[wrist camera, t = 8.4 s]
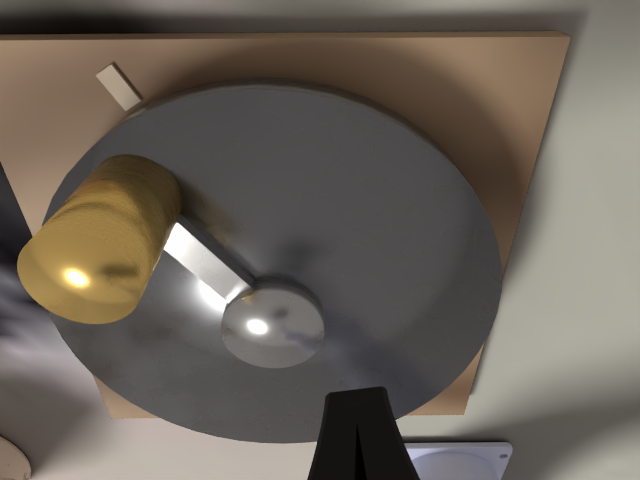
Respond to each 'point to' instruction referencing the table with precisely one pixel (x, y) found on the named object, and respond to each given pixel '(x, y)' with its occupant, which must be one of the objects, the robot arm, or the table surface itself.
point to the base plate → (291, 63)
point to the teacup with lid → (13, 462)
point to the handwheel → (266, 258)
